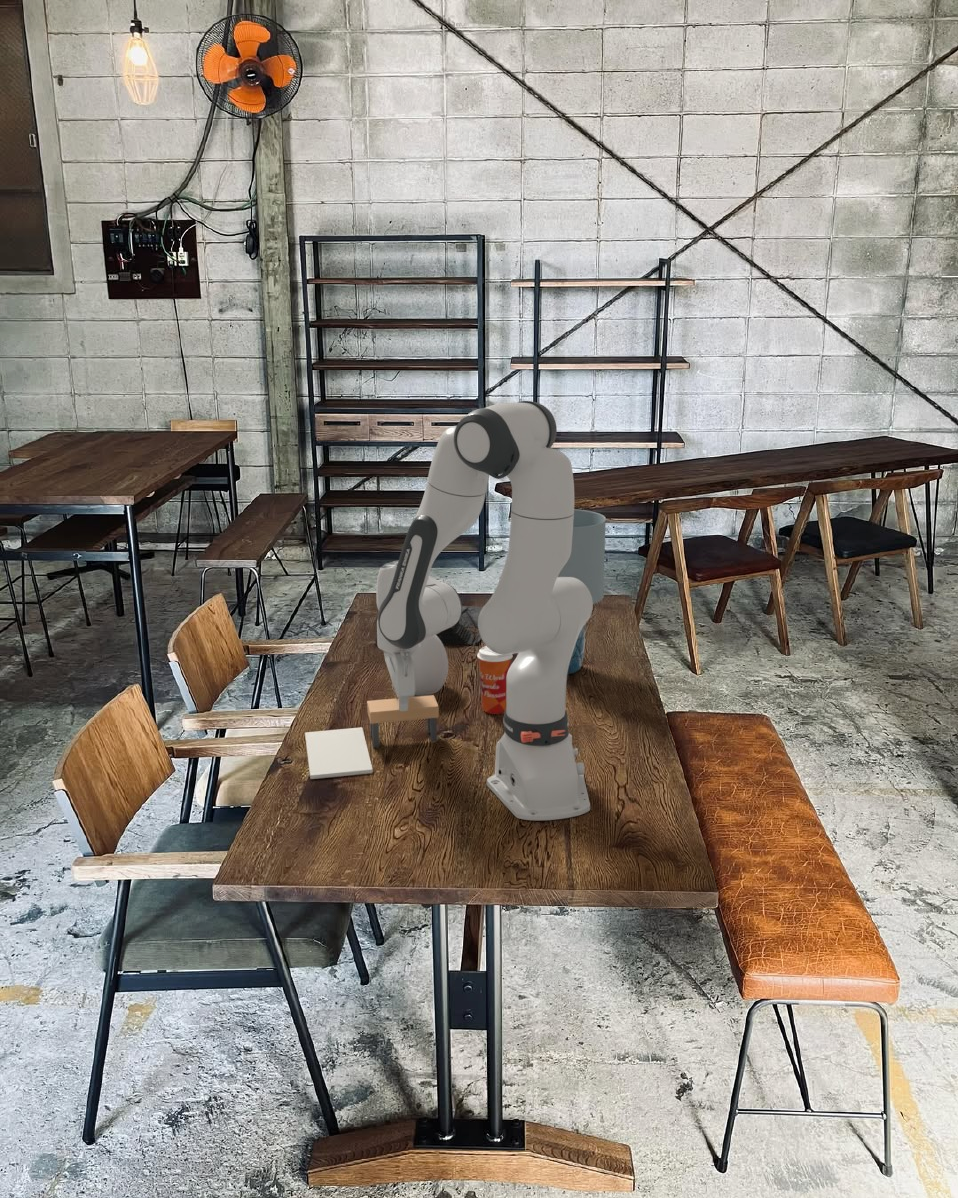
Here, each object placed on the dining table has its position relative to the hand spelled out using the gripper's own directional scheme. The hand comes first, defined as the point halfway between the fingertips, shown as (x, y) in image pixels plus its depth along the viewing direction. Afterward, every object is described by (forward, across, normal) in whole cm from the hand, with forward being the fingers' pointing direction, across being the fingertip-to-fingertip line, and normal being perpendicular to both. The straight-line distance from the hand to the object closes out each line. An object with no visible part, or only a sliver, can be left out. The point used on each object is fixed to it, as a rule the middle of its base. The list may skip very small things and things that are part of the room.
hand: (399, 700), depth 218 cm
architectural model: (+10, +67, -25) cm, 73 cm away
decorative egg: (+9, +25, -9) cm, 28 cm away
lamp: (+9, +30, -44) cm, 54 cm away
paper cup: (+9, +10, -23) cm, 26 cm away
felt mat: (+9, -5, +13) cm, 17 cm away
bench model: (+9, -1, -1) cm, 9 cm away
